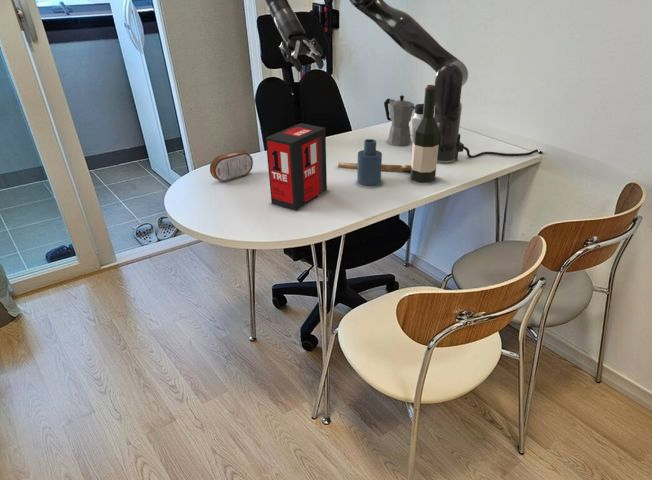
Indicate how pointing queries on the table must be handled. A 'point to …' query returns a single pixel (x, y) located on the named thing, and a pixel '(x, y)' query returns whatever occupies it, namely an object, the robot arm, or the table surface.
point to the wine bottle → (425, 141)
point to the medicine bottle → (417, 116)
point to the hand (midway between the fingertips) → (311, 69)
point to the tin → (231, 165)
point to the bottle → (369, 164)
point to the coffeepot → (399, 121)
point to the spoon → (383, 167)
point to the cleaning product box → (297, 165)
